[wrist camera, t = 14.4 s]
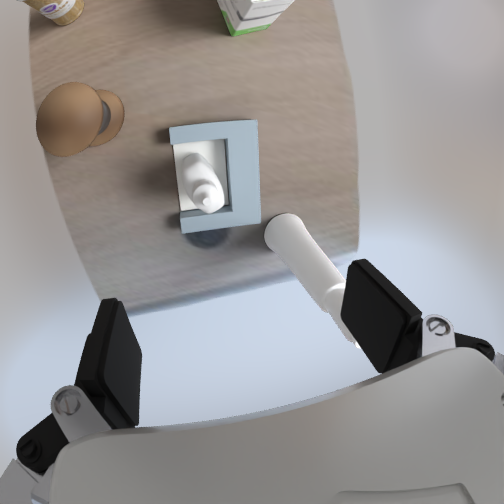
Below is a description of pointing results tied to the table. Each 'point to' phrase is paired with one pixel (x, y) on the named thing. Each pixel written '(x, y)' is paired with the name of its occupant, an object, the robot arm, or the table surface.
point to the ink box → (251, 14)
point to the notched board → (221, 172)
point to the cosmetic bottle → (308, 265)
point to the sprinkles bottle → (58, 9)
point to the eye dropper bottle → (202, 183)
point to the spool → (78, 118)
